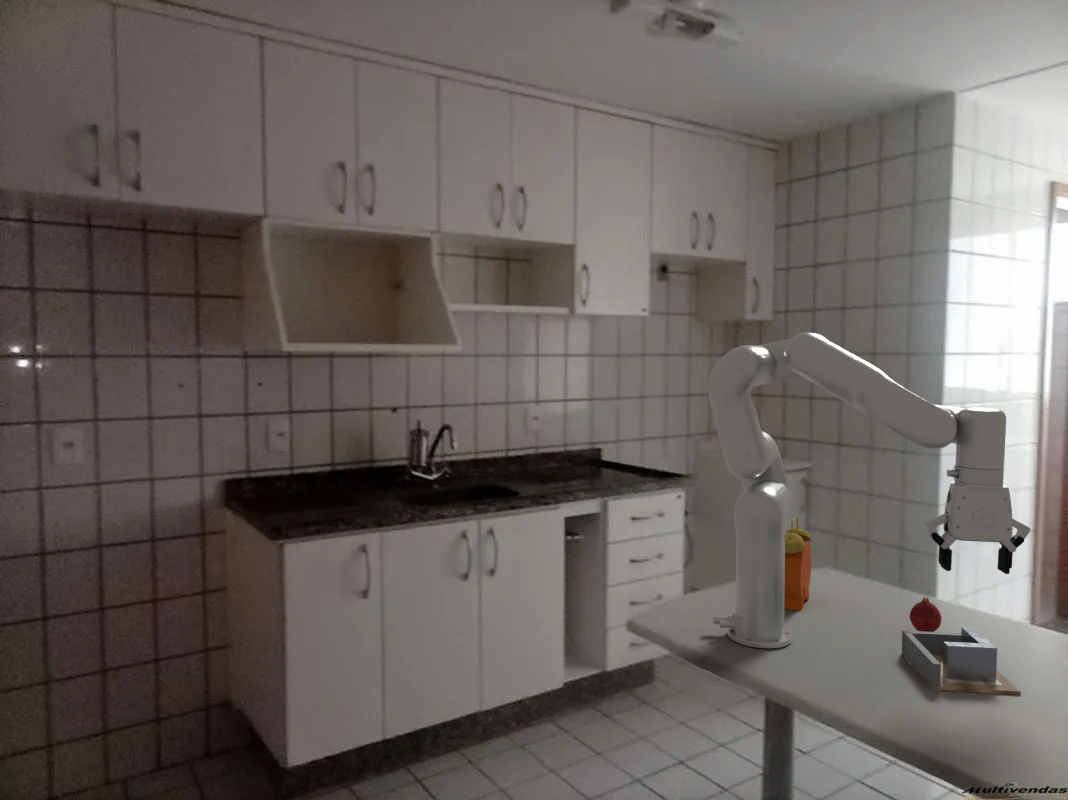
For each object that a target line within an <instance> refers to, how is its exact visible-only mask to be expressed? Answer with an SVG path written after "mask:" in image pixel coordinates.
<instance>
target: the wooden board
mask: <svg viewBox="0 0 1068 800" xmlns="http://www.w3.org/2000/svg"><path fill="white" fill-rule="evenodd" d="M902 654H903V655H904V656H905V657H906V658H905V657H904V656H903V655H902ZM901 655H902V656H903V657H904V658H905V660H906V661H907V660H908V661H909V662H910V663H911V664H912V665H911V664H910V663H909V662H908V661H907V662H908V663H909V664H910V665H911V666H912V667H913V669H914V668H915V669H916V670H915V669H914V670H915V671H916V672H917V674H919V676H920V675H921V676H922V677H921V676H920V677H921V678H922V680H924V682H925V683H926V684H927V685H928V687H930V689H931V690H932V691H942V690H949V691H948V692H960V691H961V692H962V691H963V692H965V693H980V694H981V693H982V694H996V695H997V694H999V695H1013V696H1014V695H1015V696H1016V695H1017V696H1021V690H1020V689H1019V688H1017V686H1015V684H1013V683H1012V682H1010V680H1008V678H1006V677H1005V676H1004V675H1003V674H1002V673H1001V672H1000V671H998V670H996V682H990V681H972V680H954V679H947V678H946V677H945V676H944V675H943V655H932V656H933V657H934V658H935V659H936V660H937V661H938V662H939V663H940V664H941V678H940V687H933V686H932V685H931V684H930V683H929V682H928V680H927V679H926V678H925V677H924V676H923V675H922V673H921V672H920V671H919V670H918V669H917V668H916V667H915V665H914V664H913V663H912V662H911V661H910V660H909V658H908V657H907V656H906V655H905V654H904V653H903V652H902V651H901Z"/></svg>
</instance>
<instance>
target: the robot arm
mask: <svg viewBox="0 0 1068 800" xmlns="http://www.w3.org/2000/svg"><path fill="white" fill-rule="evenodd" d="M709 375H710V376H709V380H708V387H707V388H708V389H707V390H708V398H709V404H710V409H711V411H712V416H713V419H714V423H715V427H716V431H717V434H718V435H717V437H718V438H719V442H720V446H721V450H722V453H723V458H724V462H725V465H726V468H727V469H728V472H730V474H732V475H733V476H734V477H736V478H738V479H740V480H741V481H740V482H741V484H742V488H743V491H742V492H741V493H740V494H739V496H738V497H737V499H736V502H735V505H734V511H733V513H734V516H733V518H734V530H735V542H736V543H735V545H736V546H735V548H736V549H735V551H736V552H735V559H736V561H735V562H736V563H735V565H736V568H735V569H736V571H735V573H736V574H735V575H736V576H735V577H736V578H735V579H736V580H735V583H736V584H735V609H733V610H732V613H729V614H728V615H721V614H712V625H719V628H721V629H724V628H725V629H726V628H728V629H727V635H728V637H729V638H730V639H731V640H732V641H734V642H736V643H737V644H740V645H743V646H746V647H751V648H757V649H779V648H783V647H787V646H788V645H790V644H791V643H792V641H793V635H792V633H791V632H790V631H789V630H788V629H787V628H785V608H784V590H785V540H784V534H785V530H784V529H785V519H786V518H787V517H788V515H789V513H790V511H791V510H792V506H793V496H792V491H791V488H790V485H789V484H790V483H789V481H788V477H787V473H786V470H785V467H784V463H783V460H782V456H781V453H780V450H779V447H778V445H777V443H776V441H775V440H774V438H773V437H772V436H771V435H770V434H769V433H767V432H766V431H763V430H762V427H761V424H760V421H759V416H758V414H757V409H756V407H755V405H754V402H753V401H754V400H753V399H752V394H751V393H752V392H751V391H752V389H753V388H754V387H759V386H765V385H768V384H773V383H777V382H778V383H779V382H782V381H783V382H784V381H789V380H794V379H798V378H799V379H800V378H803V379H805V380H806V381H809V382H810V383H812V384H813V385H816V386H817V387H820V388H821V389H823V390H825V391H826V392H828V393H829V394H831V395H832V396H833V397H836V398H838V399H839V400H841V401H842V402H845V403H846V404H848V405H850V406H851V407H852V408H854V409H856V410H857V411H859V412H861V413H863V414H865V415H867V417H870V418H871V419H873V420H875V421H877V422H878V423H880V424H882V425H883V426H884V427H886V428H888V429H890V430H891V431H892V432H894V433H897V434H898V435H900V436H902V437H904V438H905V439H907V440H908V441H910V442H912V443H913V444H916V445H918V446H919V447H921V448H924V449H928V450H940V449H943V448H946V447H947V446H949V445H950V444H955V448H956V449H955V464H954V465H953V468H950V469H949V468H948V469H947V470H946V477H950V478H953V480H954V481H951V482H950V484H949V486H948V487H949V488H948V492H947V496H946V501H945V505H944V513H943V514H941V515H938V516H936V517H933V518H931V519H929V520H926V521H924V523H923V525H924V528H925V529H926V532H927V533H928V536H929V537H930V538H931V540H933V541H934V543H935V544H937V546H938V559H937V560H938V564H939V565H940V567H941V568H942V569H943V570H944V571H946V572H950V571H952V562H953V561H952V560H953V557H952V556H953V550H952V548H951V546H952V545H954V543H955V542H956V541H960V542H961V541H962V542H964V541H965V542H976V543H977V542H982V543H998V544H999V545H1000V546H1001V547H999V549H998V553H997V570H998V571H1000V572H1002V573H1003V574H1004V575H1009V574H1010V572H1011V571H1010V569H1012V567H1013V557H1014V555H1013V554H1014V553H1015V552H1016V551H1017V548H1018V547H1020V546H1022V544H1023V543H1025V539H1026V538H1027V537H1028V535H1029V533H1030V531H1031V527H1030V526H1027V525H1025V524H1023V523H1021V522H1020V521H1018V520H1015V519H1014V518H1013V508H1012V501H1011V500H1012V499H1011V493H1010V488H1009V486H1008V485H1005V484H1004V475H1005V474H1004V471H1005V454H1006V452H1005V451H1006V437H1007V436H1006V431H1007V416H1006V413H1005V412H1004V411H1003V410H1001V409H998V408H991V407H965V408H961V407H953V406H949V405H940V404H934V403H932V402H930V401H928V400H927V399H925V398H923V397H921V396H919V395H918V394H915V393H913V392H912V391H910V390H908V389H907V388H905V387H904V386H902V385H900V384H899V383H897V382H896V381H894V380H893V379H892V378H890V377H889V376H888V375H887V374H886V373H885V372H883V370H881V369H880V368H879V367H876V366H875V365H874V364H871V362H868V361H866V360H864V359H862V358H861V357H859V356H857V355H855V354H854V353H852V352H849V351H848V350H846V349H844V348H842V347H841V346H839V345H837V344H835V343H834V342H831V341H829V340H828V338H826V337H825V336H823V335H822V334H819V333H815V332H814V333H813V332H810V331H806V332H800V333H798V334H796V335H794V336H793V337H791V338H787V339H783V340H782V339H781V340H778V341H772V342H768V343H763V344H762V343H761V344H757V345H751V344H745V345H744V344H743V345H739V346H736V347H735V348H732V349H730V350H729V351H727V352H726V353H725V354H724V355H723V356H722V357H720V358H719V359H718V361H717V363H716V364H714V367H713V369H712V371H711V373H710V374H709ZM942 525H943V532H944V533H942V535H940V534H939V533H938V531H937V527H939V526H942ZM1013 528H1015V529H1016V532H1015V533H1016V534H1015V535H1013Z"/></svg>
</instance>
